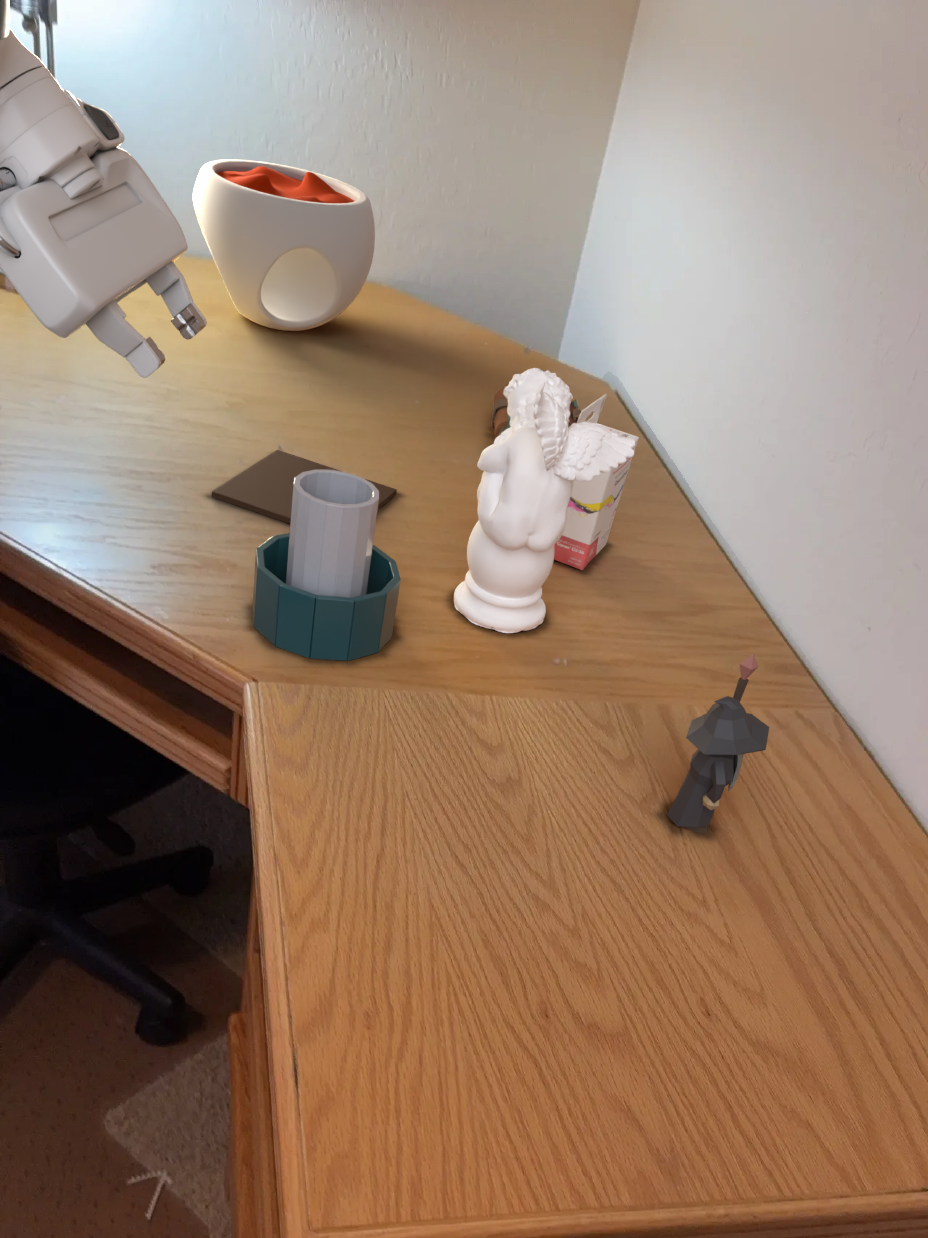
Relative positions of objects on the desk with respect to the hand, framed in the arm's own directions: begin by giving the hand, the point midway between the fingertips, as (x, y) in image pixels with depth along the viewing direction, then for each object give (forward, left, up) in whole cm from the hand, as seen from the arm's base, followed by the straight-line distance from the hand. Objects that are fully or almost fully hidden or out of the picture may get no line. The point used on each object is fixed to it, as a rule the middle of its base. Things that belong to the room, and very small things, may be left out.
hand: (178, 350), depth 76 cm
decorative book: (+16, +58, -20) cm, 64 cm away
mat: (0, +25, -20) cm, 32 cm away
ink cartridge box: (+27, +33, -20) cm, 47 cm away
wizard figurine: (+46, -5, -20) cm, 50 cm away
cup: (+12, +3, -20) cm, 23 cm away
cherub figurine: (+26, +15, -20) cm, 36 cm away
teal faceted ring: (+12, +3, -20) cm, 23 cm away
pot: (-28, +74, -20) cm, 82 cm away
